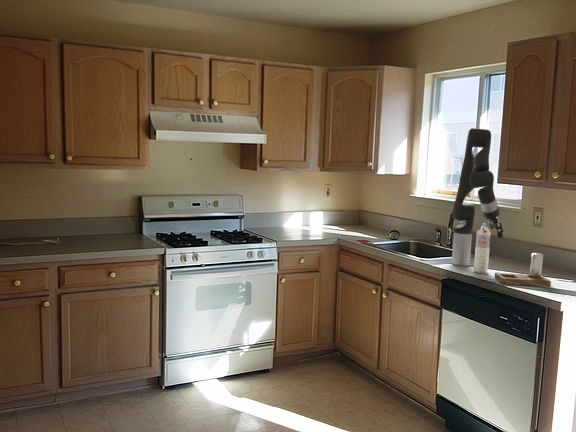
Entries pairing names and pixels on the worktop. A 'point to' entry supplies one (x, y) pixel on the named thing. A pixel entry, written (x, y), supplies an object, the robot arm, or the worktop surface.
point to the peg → (536, 265)
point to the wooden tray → (521, 279)
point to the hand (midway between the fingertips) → (496, 232)
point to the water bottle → (482, 249)
